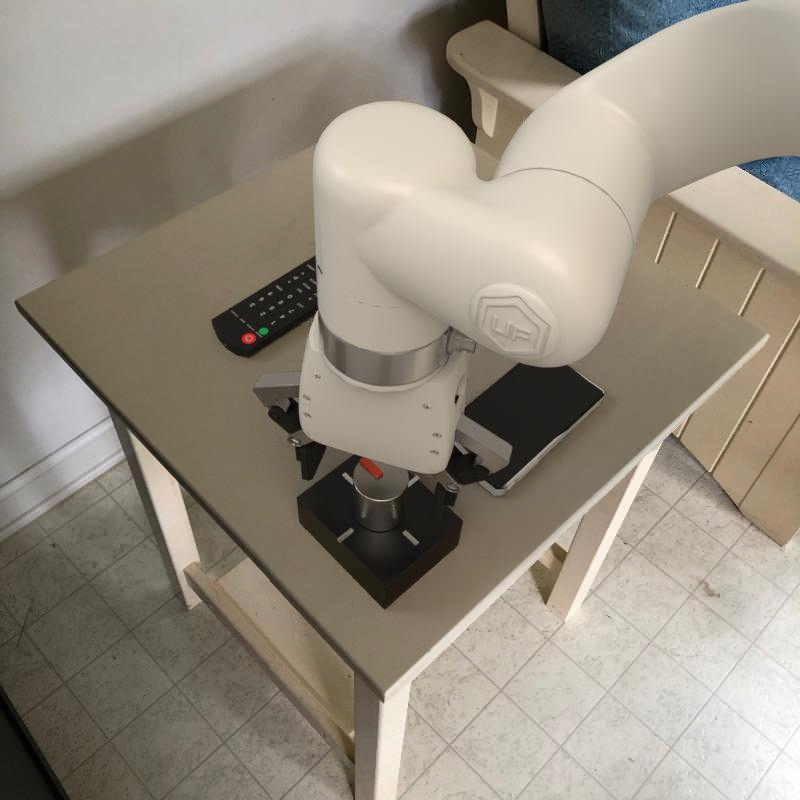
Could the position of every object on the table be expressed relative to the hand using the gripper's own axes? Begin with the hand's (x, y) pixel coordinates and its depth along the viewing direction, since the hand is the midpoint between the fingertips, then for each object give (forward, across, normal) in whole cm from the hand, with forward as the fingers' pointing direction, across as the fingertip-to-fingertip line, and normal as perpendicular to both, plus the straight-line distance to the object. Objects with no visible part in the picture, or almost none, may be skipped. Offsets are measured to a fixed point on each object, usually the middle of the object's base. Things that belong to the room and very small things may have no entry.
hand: (376, 483), depth 60 cm
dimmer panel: (+7, 0, 0) cm, 8 cm away
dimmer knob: (+3, 0, 0) cm, 3 cm away
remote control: (+8, +14, -24) cm, 29 cm away
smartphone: (+8, -9, -14) cm, 19 cm away
